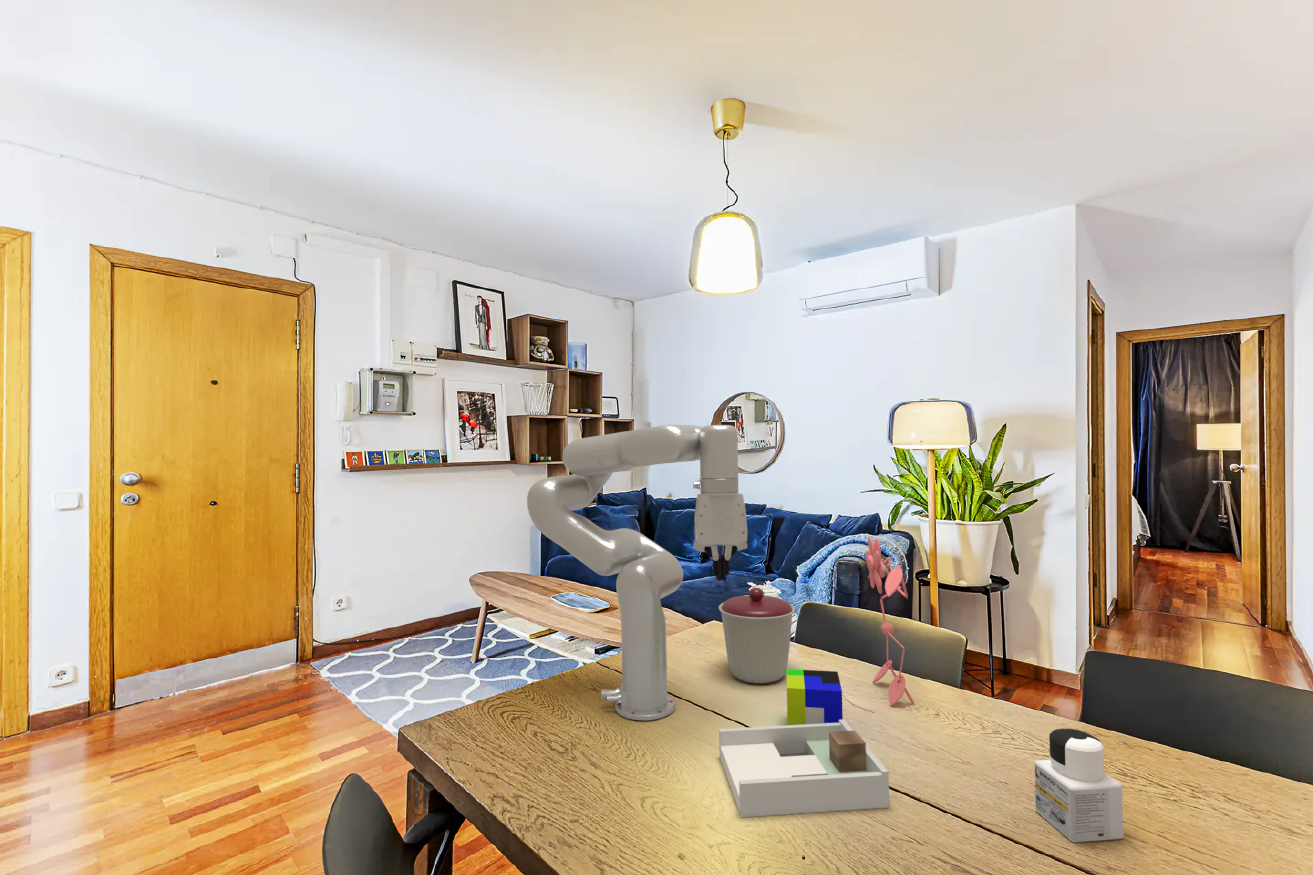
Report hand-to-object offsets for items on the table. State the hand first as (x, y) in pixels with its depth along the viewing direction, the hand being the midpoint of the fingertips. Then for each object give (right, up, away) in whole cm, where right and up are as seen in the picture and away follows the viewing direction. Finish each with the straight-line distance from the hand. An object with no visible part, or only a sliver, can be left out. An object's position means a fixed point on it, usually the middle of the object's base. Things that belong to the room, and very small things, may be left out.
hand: (720, 579), depth 124 cm
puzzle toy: (+18, -29, -3) cm, 34 cm away
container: (+48, -28, -33) cm, 65 cm away
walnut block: (+19, -26, -20) cm, 38 cm away
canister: (+12, -29, +26) cm, 41 cm away
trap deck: (+11, -29, -20) cm, 37 cm away
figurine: (+36, -29, +14) cm, 48 cm away
